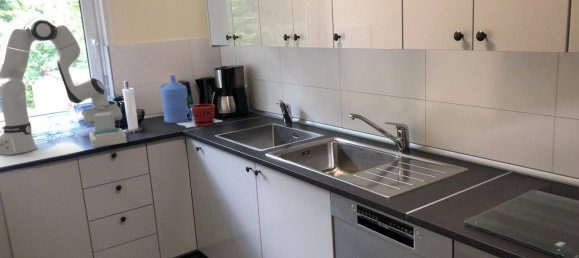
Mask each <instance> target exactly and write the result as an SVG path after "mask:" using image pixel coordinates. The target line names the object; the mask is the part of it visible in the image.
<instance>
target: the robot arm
mask: <svg viewBox="0 0 579 258" xmlns="http://www.w3.org/2000/svg"><path fill="white" fill-rule="evenodd" d="M34 41H37V42H45V41H50V42H51V43H52V45H54V47H55V49H56V52H57V54H58V59H57V61H56V62H57V68H58V70H59V74H60V76H61V80H62V82H63V84H64V88H65V92H66V95H67V98H68V100H69V101H70V102H71V103H74V104H80V103H82V102H84V101H86V100H88V99H90V100H91V108H84V110H81V115H82V116H83V121H84V125H92V124H94V118H93V116H94V115H95V114H96V113H104V112H113V116H114V121H119V120H122V119H123V113H122V110H121V107H119V106H118V102H117V101H114V100H108V98H107V92H106V88H105V87H104V84H103V83H102V82H101V81H100V80H99V79H97V78H94V77H91V78H89V79H86V80H84V81H81V82H79V83H77V84H75V83H74V82H73V79H72V76H71V74H70V67H71V66H72V64H74V63H75V61H76V60H77V59H78V58H79V57H80V55H81V48H80V45H79V43H78V41H77V39H76V38H75V36H74V34H72V32H71V31H70V29H69V28H68V27H67V26H66V25H64V24H57V25H54V24H52V23H50V22H49V21H48V20H45V19H41V18H40V19H39V18H37V19H32V20H31V21H29V22H28V23H27V24H26V25H25V26H24V27H23V28H22V27H15V28H13V29H11V30H10V32H9V35H8V37H7V40H6V45H5V49H4V55H3V59H2V63H1V64H2V65H1V68H0V94H1V95H0V96H1V102H2V114H3V118H4V119H3V120H4V123H5V125H4V126H2V127H1V130H3V133H2V134H1V135H0V155H3V156H4V155H6V156H12V155H16V154H17V155H18V154H22V153H27V152H31V151H34V150H36V149H38V146H37V144H36V141H35V140H34V136H33V133H32V125H31V124H32V123H31V121H30V119H29V114H28V107H27V93H26V87H25V83H24V82H23V80H24V75H25V73H26V70H27V69H28V64H29V57H30V54H31V53H30V52H31V46H32V44H33V42H34Z"/></svg>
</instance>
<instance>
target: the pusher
mask: <svg viewBox="0 0 579 258" xmlns="http://www.w3.org/2000/svg"><path fill="white" fill-rule="evenodd" d="M112 132H119V127H115V128H114V129H107V130H100V131H96V130H95V132H94V135H99V134H105V133H112Z"/></svg>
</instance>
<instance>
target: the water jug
mask: <svg viewBox="0 0 579 258" xmlns="http://www.w3.org/2000/svg"><path fill="white" fill-rule="evenodd" d="M169 80H170V82H169V83H168V84H166V85H165V86H163V87H161V88H160V93H161V94H160V95H161V99H162V109H163V117H164V118H163V121H164V122H165V123H167V124H179V122H181V123H185V122H188V121H187V112H188V110H189V111H190V109H189V107H188V106H187V101H186V100H187V98H188V89H187V86H186V85H185V84H181V83H179V82H177V81H176V75H169Z"/></svg>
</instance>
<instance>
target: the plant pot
mask: <svg viewBox="0 0 579 258" xmlns="http://www.w3.org/2000/svg"><path fill="white" fill-rule="evenodd" d="M215 110H216V107H215V104H213V103H200V104H195V105H192V106H191V113H192V117H193V120H194V121H195V122H194V125H195V126H196V127H201V128H202V127H203V128H205V127H209V126H213V125H214V124H215V120H214V119H215V115H216V114H215V113H216V111H215Z"/></svg>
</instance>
